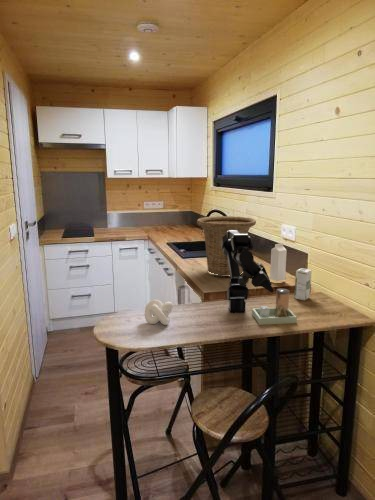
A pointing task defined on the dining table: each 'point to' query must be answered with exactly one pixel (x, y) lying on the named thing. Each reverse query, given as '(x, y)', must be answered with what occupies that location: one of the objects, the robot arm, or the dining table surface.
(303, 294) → the syrup box
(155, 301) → the cream knot sculpture
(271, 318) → the tote
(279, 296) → the coffee tin
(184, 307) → the dining table surface
